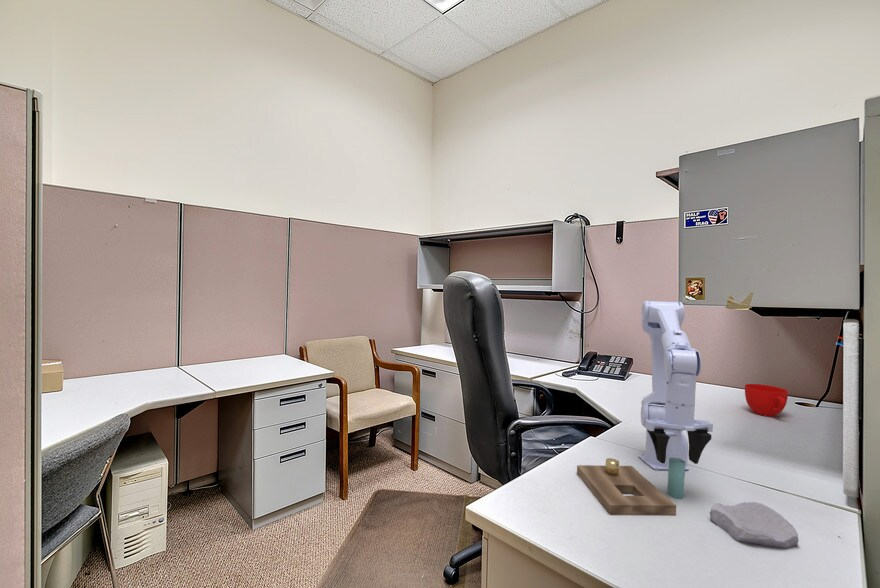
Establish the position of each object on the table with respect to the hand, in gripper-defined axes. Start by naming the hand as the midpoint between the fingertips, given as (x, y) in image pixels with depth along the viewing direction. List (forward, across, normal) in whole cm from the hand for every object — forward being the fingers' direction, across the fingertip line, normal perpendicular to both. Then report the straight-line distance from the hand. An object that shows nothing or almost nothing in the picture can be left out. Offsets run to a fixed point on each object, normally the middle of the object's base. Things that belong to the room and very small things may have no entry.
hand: (677, 461), depth 92 cm
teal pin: (+8, 0, 0) cm, 8 cm away
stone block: (+8, +7, -14) cm, 18 cm away
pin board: (+8, -12, +1) cm, 14 cm away
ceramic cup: (+8, +73, +58) cm, 94 cm away
